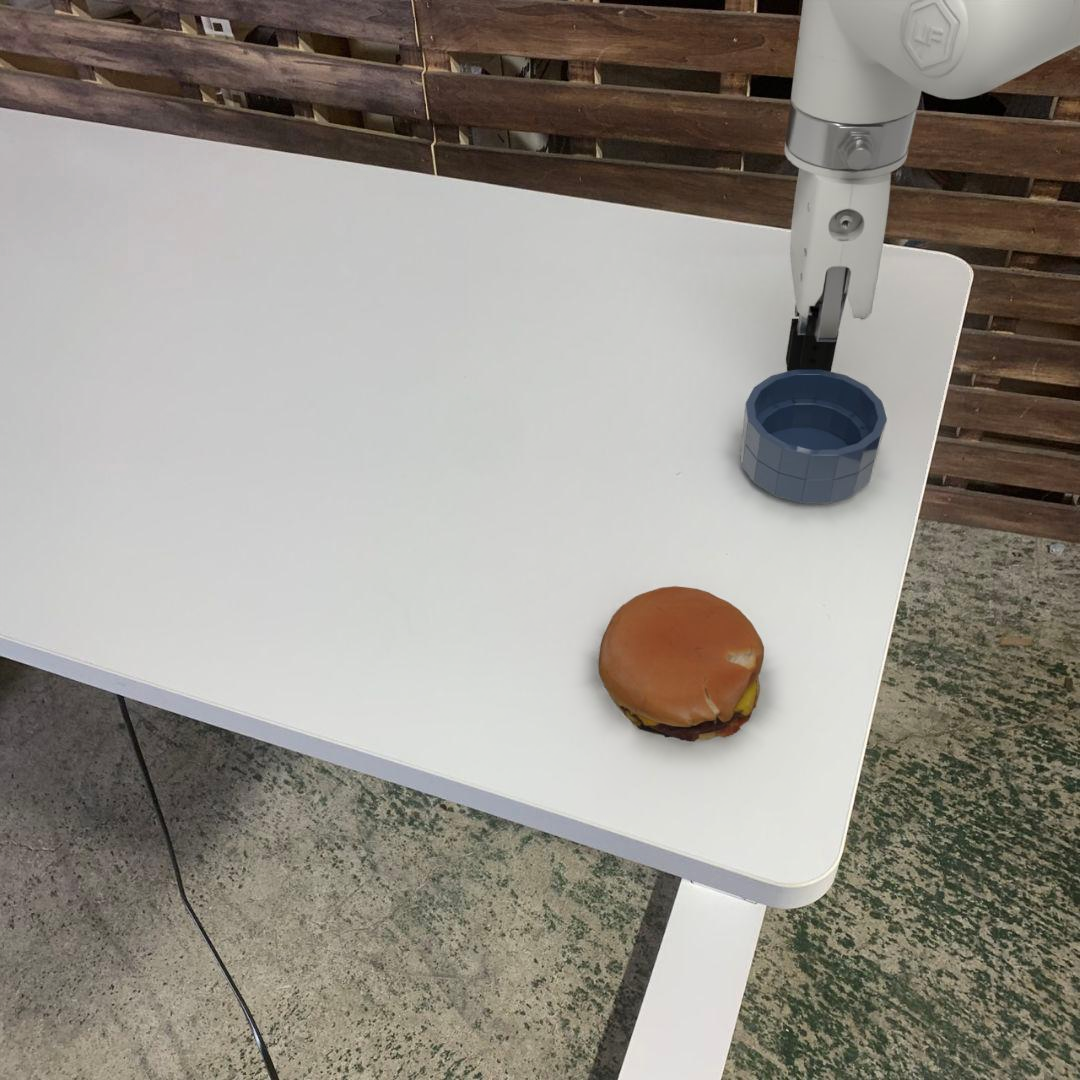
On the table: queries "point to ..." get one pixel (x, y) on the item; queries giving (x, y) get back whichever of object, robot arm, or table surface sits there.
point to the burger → (682, 663)
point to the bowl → (811, 435)
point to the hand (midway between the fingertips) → (807, 369)
